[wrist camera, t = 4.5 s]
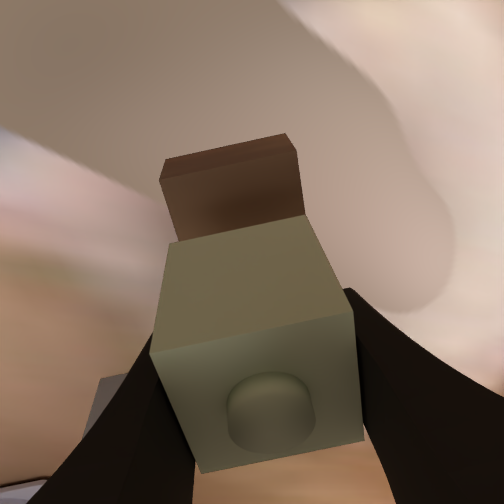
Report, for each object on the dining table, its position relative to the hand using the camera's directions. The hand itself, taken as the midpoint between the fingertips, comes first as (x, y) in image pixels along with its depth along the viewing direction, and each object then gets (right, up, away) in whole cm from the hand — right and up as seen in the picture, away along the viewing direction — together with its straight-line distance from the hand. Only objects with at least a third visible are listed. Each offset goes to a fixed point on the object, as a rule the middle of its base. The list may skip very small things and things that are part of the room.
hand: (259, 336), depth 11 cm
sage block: (0, +1, +2) cm, 2 cm away
